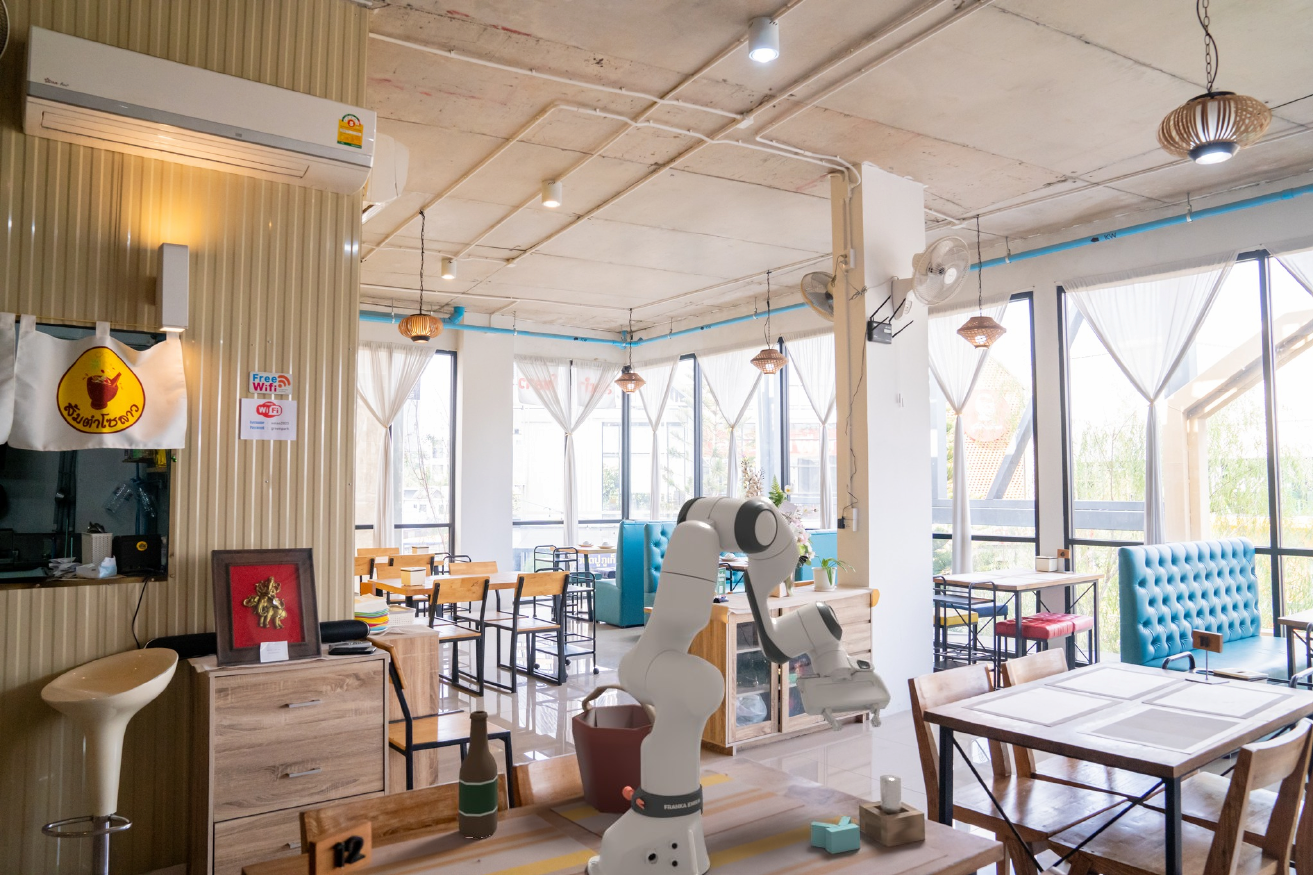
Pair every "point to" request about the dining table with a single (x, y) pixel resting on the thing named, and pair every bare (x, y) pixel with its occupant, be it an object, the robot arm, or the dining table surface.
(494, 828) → the beer bottle
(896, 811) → the steel axle
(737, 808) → the dining table surface
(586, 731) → the bucket
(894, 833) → the walnut block
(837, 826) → the teal V-block
